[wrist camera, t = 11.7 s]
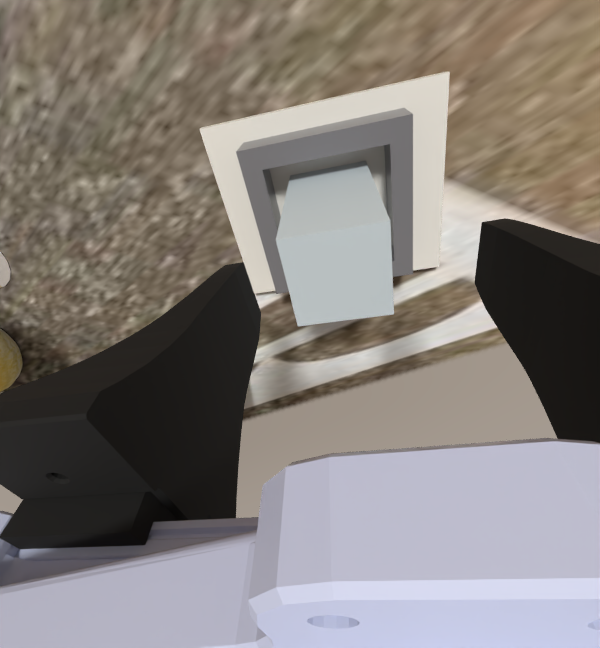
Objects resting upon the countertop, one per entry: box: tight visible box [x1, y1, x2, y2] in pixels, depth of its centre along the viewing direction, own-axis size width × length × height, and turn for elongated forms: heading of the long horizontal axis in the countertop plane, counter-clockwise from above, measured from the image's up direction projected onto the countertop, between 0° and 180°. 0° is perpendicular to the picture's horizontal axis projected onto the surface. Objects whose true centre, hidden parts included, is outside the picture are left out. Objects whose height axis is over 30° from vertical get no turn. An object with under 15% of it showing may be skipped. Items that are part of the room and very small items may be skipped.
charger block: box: [276, 161, 394, 326], centre depth 16 cm, size 4×4×8 cm
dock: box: [199, 71, 450, 294], centre depth 19 cm, size 12×10×2 cm
